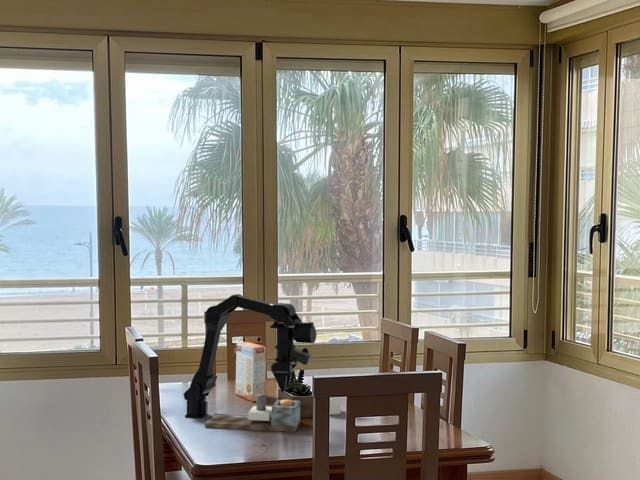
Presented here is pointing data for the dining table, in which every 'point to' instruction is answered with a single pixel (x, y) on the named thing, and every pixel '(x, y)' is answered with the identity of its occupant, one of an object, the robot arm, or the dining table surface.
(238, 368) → the cracker box
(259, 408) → the carriage
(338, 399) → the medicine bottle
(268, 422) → the rail board
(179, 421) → the dining table surface
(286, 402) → the button
